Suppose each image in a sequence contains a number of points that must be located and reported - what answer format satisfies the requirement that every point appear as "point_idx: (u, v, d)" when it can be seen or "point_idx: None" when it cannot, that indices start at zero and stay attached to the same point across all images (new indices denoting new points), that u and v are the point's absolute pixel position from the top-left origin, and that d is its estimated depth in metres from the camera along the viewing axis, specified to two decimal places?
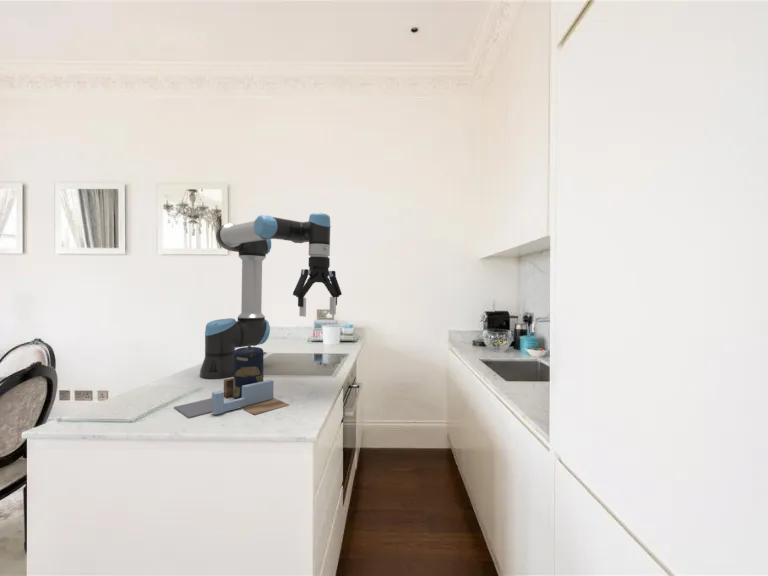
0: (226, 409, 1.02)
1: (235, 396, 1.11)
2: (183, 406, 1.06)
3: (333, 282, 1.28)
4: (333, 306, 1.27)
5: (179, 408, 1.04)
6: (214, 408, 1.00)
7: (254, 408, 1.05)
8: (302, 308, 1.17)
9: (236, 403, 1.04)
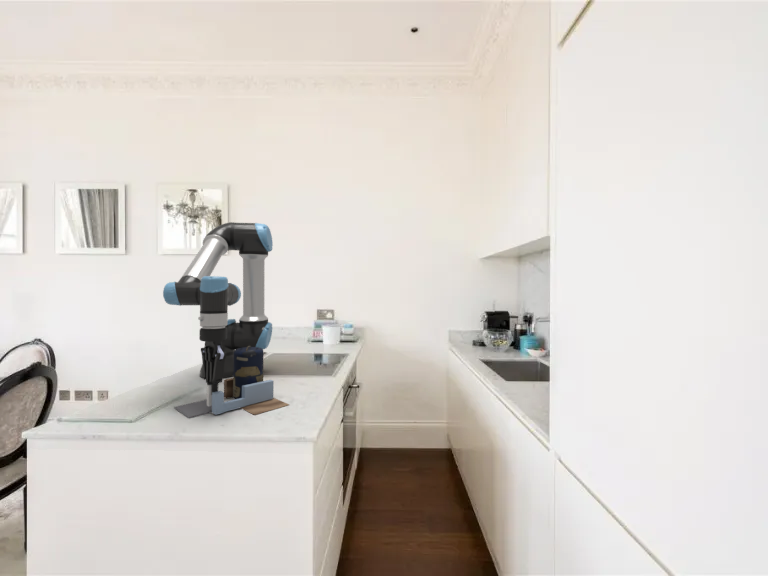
0: (226, 409, 1.02)
1: (235, 396, 1.11)
2: (183, 406, 1.06)
3: None
4: None
5: (179, 408, 1.04)
6: (214, 408, 1.00)
7: (254, 408, 1.05)
8: None
9: (236, 403, 1.04)
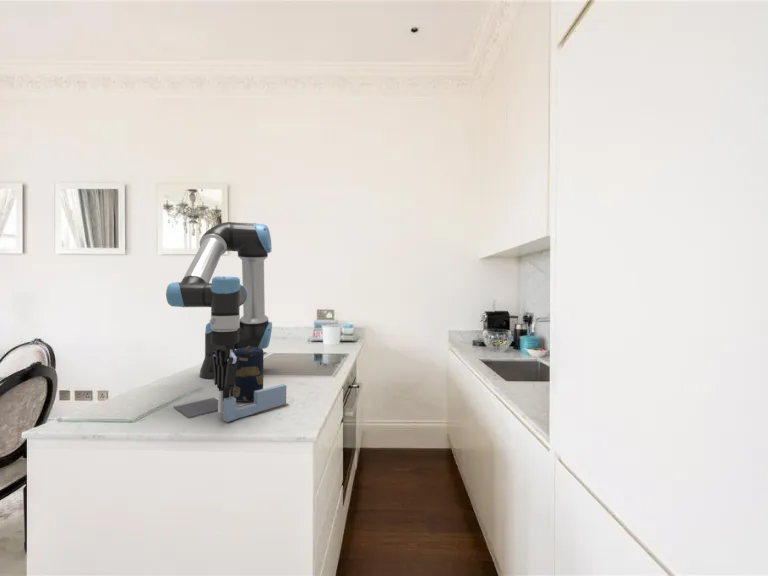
0: (238, 416, 0.97)
1: (235, 396, 1.11)
2: (183, 406, 1.06)
3: None
4: None
5: (179, 408, 1.04)
6: (226, 415, 0.95)
7: None
8: None
9: (248, 409, 0.99)
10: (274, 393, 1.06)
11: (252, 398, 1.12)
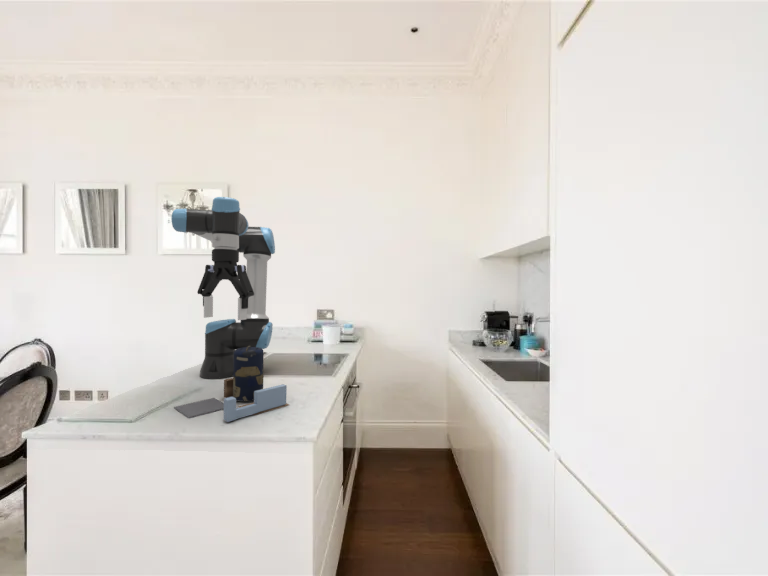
0: (238, 416, 0.97)
1: (235, 396, 1.11)
2: (183, 406, 1.06)
3: None
4: None
5: (179, 408, 1.04)
6: (226, 415, 0.95)
7: None
8: None
9: (248, 409, 0.99)
10: (274, 393, 1.06)
11: (252, 398, 1.12)
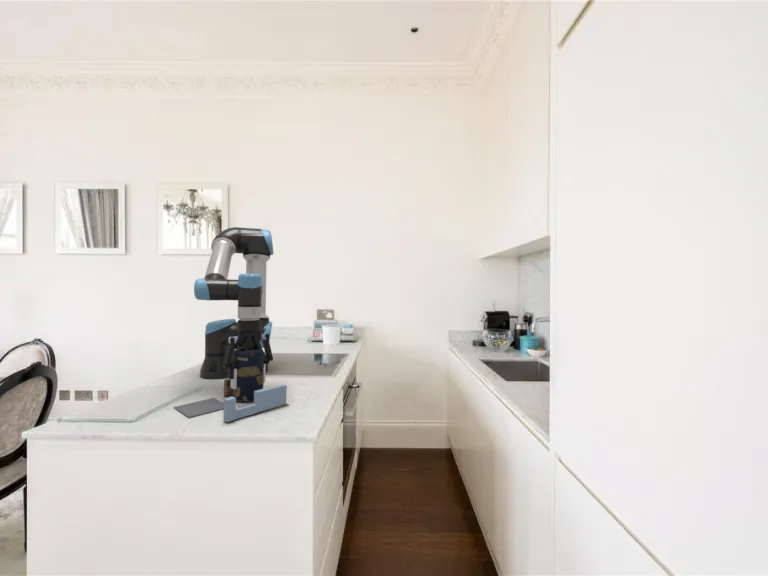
0: (238, 416, 0.97)
1: (235, 396, 1.11)
2: (183, 406, 1.06)
3: (265, 346, 1.19)
4: None
5: (179, 408, 1.04)
6: (226, 415, 0.95)
7: None
8: (233, 380, 1.11)
9: (248, 409, 0.99)
10: (274, 393, 1.06)
11: (252, 398, 1.12)
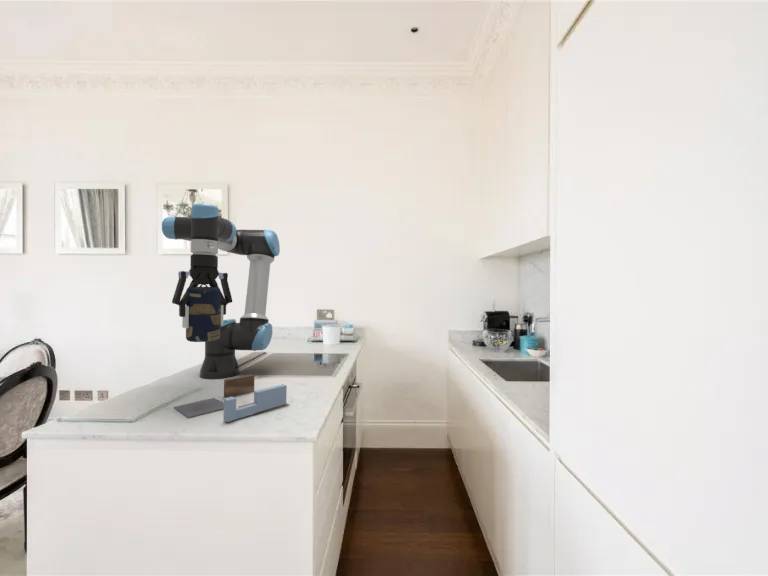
0: (238, 416, 0.97)
1: (187, 336, 1.02)
2: (183, 406, 1.06)
3: (223, 286, 1.10)
4: None
5: (179, 408, 1.04)
6: (226, 415, 0.95)
7: None
8: (184, 318, 1.01)
9: (248, 409, 0.99)
10: (274, 393, 1.06)
11: (206, 338, 1.02)
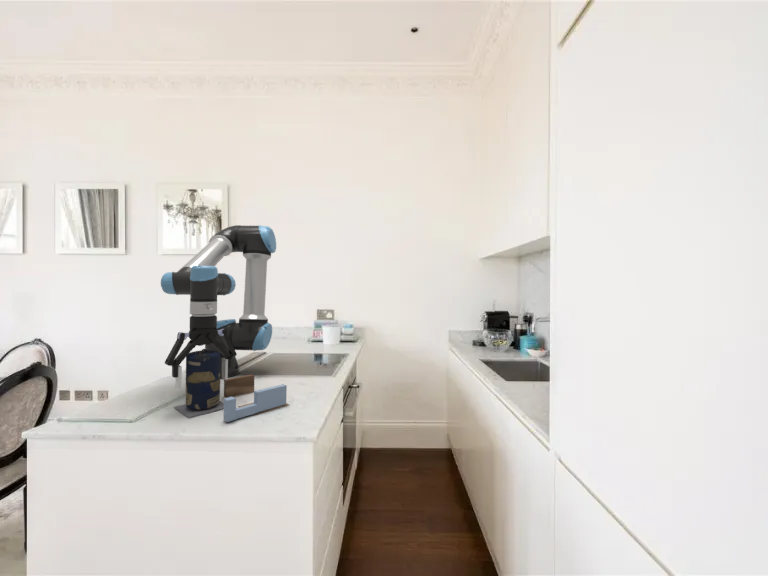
0: (238, 416, 0.97)
1: (187, 404, 1.02)
2: (183, 406, 1.06)
3: (225, 342, 1.11)
4: (224, 370, 1.10)
5: (179, 408, 1.04)
6: (226, 415, 0.95)
7: None
8: (177, 379, 1.00)
9: (248, 409, 0.99)
10: (274, 393, 1.06)
11: (205, 406, 1.02)
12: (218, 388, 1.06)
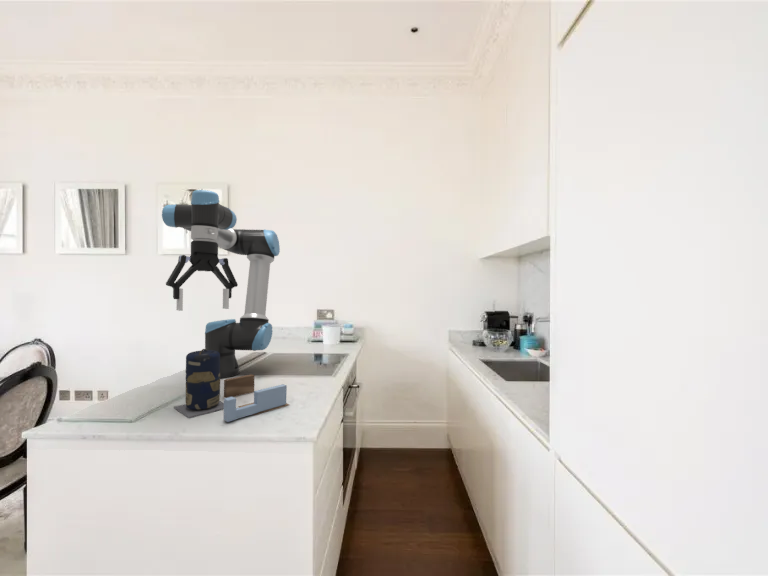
0: (238, 416, 0.97)
1: (187, 404, 1.02)
2: (183, 406, 1.06)
3: (226, 271, 1.11)
4: (225, 299, 1.10)
5: (179, 408, 1.04)
6: (226, 415, 0.95)
7: None
8: (178, 301, 1.00)
9: (248, 409, 0.99)
10: (274, 393, 1.06)
11: (205, 406, 1.02)
12: (218, 388, 1.06)
